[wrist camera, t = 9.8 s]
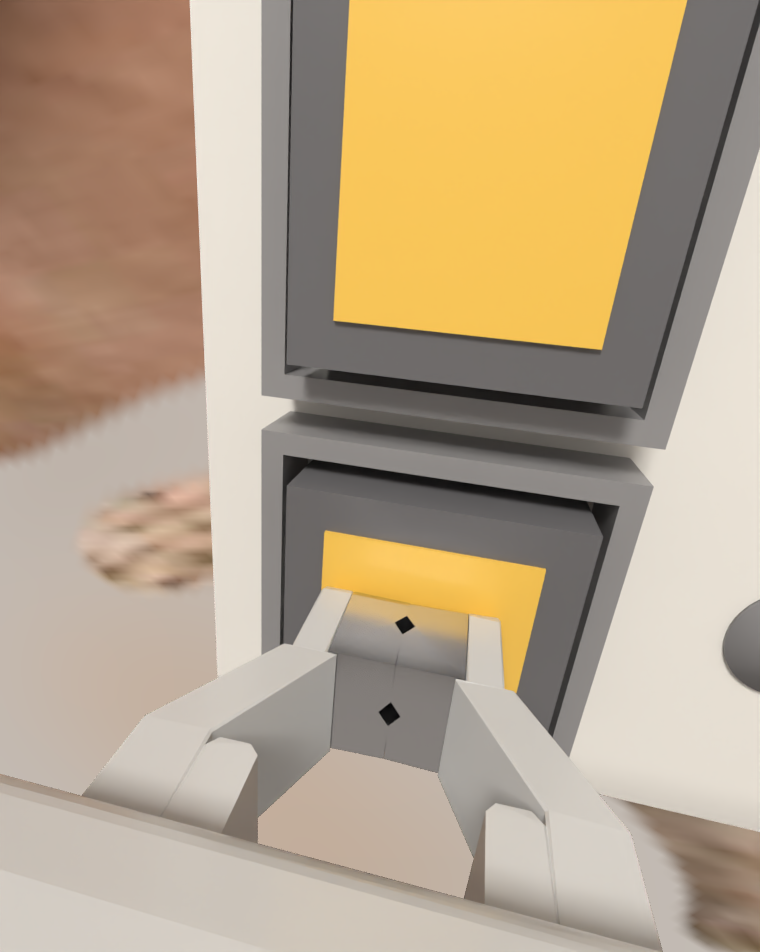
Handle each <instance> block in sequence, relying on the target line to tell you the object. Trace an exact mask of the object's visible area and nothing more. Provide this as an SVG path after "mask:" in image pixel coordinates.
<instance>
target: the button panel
mask: <svg viewBox="0 0 760 952" xmlns="http://www.w3.org/2000/svg"><path fill="white" fill-rule="evenodd" d="M190 19H191V43H192V68H193V92H194V116H195V140H196V165H197V189H198V213H199V238H200V262H201V286H202V310H203V335H204V359H205V383H206V407H207V432H208V456H209V480H210V505H211V529H212V553H213V577H214V601H215V624H216V649H217V673H218V677H220V676H222V675H224V674H226V673H228V672H230V671H232V670H234V669H236V668H237V667H239V666H241V665H243V664H245V663H247V662H249V661H251V660H253V659H255V658H257V657H259V656H261V655H263V654H265V653H266V652H268V651H270V650H272V649H274V648H276V647H278V646H280V645H282V644H284V594H285V545H286V495H287V485H288V484H289V483H290V482H291V481H292V480H293V479H294V478H295V477H296V476H297V475H298V474H299V473H300V472H301V471H302V470H303V469H304V468H305V467H306V466H307V465H308V464H309V463H310V462H311V461H312V460H313V459H314V460H321V461H327V462H334V463H340V464H347V465H354V466H360V467H367V468H373V469H380V470H386V471H393V472H399V473H406V474H413V475H419V476H426V477H432V478H439V479H445V480H452V481H459V482H465V483H472V484H478V485H485V486H491V487H498V488H504V489H511V490H518V491H524V492H531V493H537V494H544V495H550V496H557V497H563V498H570V499H577V500H583V501H587V503H588V505H589V507H590V510H591V512H592V514H593V516H594V518H595V520H596V522H597V525H598V527H599V529H600V531H601V533H602V535H603V539H602V543H601V546H600V550H599V554H598V557H597V561H596V564H595V568H594V571H593V575H592V578H591V582H590V585H589V589H588V592H587V596H586V599H585V603H584V606H583V610H582V613H581V617H580V620H579V624H578V628H577V631H576V635H575V638H574V642H573V645H572V649H571V652H570V656H569V659H568V663H567V666H566V670H565V673H564V677H563V680H562V684H561V687H560V691H559V694H558V698H557V702H556V705H555V709H554V712H553V716H552V719H551V723H550V726H549V730H548V733H549V734H550V735H551V737H552V738H553V739H554V740H555V741H556V743H557V744H558V745H559V746H560V748H561V749H562V750H563V751H564V752H565V754H566V755H567V756H568V757H569V758H570V760H571V761H572V762H573V763H574V765H575V766H576V767H577V768H578V769H579V771H580V772H581V773H582V774H583V775H584V777H585V778H586V779H587V780H588V782H589V783H590V784H591V785H592V786H593V788H594V789H595V790H596V791H597V792H598V794H600V795H604V796H608V797H613V798H617V799H621V800H625V801H630V802H634V803H638V804H643V805H647V806H651V807H655V808H660V809H664V810H668V811H672V812H677V813H681V814H685V815H689V816H694V817H698V818H702V819H706V820H711V821H715V822H719V823H723V824H728V825H732V826H736V827H740V828H745V829H749V830H753V831H757V832H760V0H759V2H758V5H757V9H756V12H755V16H754V19H753V23H752V26H751V30H750V33H749V37H748V40H747V44H746V47H745V51H744V54H743V58H742V61H741V65H740V68H739V72H738V75H737V79H736V82H735V86H734V89H733V93H732V96H731V100H730V103H729V107H728V110H727V114H726V117H725V121H724V124H723V128H722V131H721V135H720V138H719V142H718V145H717V149H716V152H715V156H714V159H713V163H712V166H711V170H710V173H709V177H708V180H707V184H706V187H705V191H704V194H703V198H702V201H701V205H700V208H699V212H698V215H697V219H696V222H695V226H694V229H693V233H692V236H691V240H690V243H689V247H688V250H687V254H686V257H685V261H684V264H683V268H682V271H681V275H680V278H679V282H678V285H677V289H676V292H675V296H674V299H673V303H672V306H671V310H670V313H669V317H668V320H667V324H666V327H665V331H664V334H663V338H662V341H661V345H660V348H659V352H658V355H657V359H656V362H655V366H654V369H653V373H652V376H651V380H650V383H649V387H648V390H647V394H646V397H645V401H644V404H643V408H634V407H626V406H618V405H610V404H601V403H593V402H585V401H577V400H569V399H561V398H553V397H545V396H537V395H529V394H521V393H513V392H505V391H497V390H489V389H481V388H473V387H465V386H457V385H449V384H440V383H432V382H424V381H416V380H408V379H400V378H392V377H384V376H376V375H368V374H360V373H352V372H344V371H336V370H328V369H320V368H312V367H304V366H296V365H288V364H287V317H288V262H289V208H290V153H291V98H292V44H293V0H190Z"/></svg>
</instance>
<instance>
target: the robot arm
mask: <svg viewBox="0 0 760 952" xmlns="http://www.w3.org/2000/svg"><path fill="white" fill-rule="evenodd" d="M330 748H334V749H339V750H344V751H349V752H354V753H359V754H363V755H368V756H374V757H378V758H384V759H387V760H391V761H395V762H398V763H402V764H406V765H409V766H413V767H417V768H421V769H425V770H428V771H432V772H436V773H438V778H439V780H440V782H441V785H442V787H443V789H444V791H445V794H446V796H447V798H448V801H449V803H450V805H451V808H452V809H453V812H454V814H455V816H456V819H457V821H458V823H459V826H460V828H461V830H462V833H463V835H464V837H465V840H466V842H467V844H468V846H469V849H470V851H471V853H472V856H473V858H474V860H473V864H472V868H471V872H470V876H469V880H468V884H467V888H466V892H465V896H464V899H463V898H459V897H455V896H452V895H448V894H444V893H440V892H437V891H433V890H429V889H425V888H422V887H418V886H414V885H410V884H407V883H403V882H399V881H396V880H392V879H388V878H385V877H380V876H377V875H373V874H370V873H366V872H362V871H359V870H355V869H351V868H347V867H344V866H340V865H336V864H332V863H329V862H325V861H321V860H318V859H314V858H310V857H306V856H302V855H299V854H295V853H291V852H288V851H284V850H280V849H277V848H273V847H269V846H265V845H262V844H258V843H257V838H258V836H257V835H258V833H257V832H258V830H257V828H258V826H257V824H258V823H257V822H258V821H257V820H258V817H259V816H260V815H261V814H262V813H263V812H265V811H266V810H267V809H268V808H269V807H270V806H271V805H272V804H273V803H274V802H275V801H276V800H277V799H279V798H280V797H281V796H282V795H283V794H284V793H285V792H286V791H287V790H288V789H289V788H290V787H292V786H293V785H294V784H295V783H296V782H297V781H298V780H299V779H300V778H301V777H302V776H303V775H304V774H306V773H307V772H308V771H309V770H310V769H311V768H312V767H313V766H314V765H315V764H316V763H317V762H318V761H320V760H321V759H322V757H324V756H325V755H326V754H327V753H328V752H329V751H330ZM384 754H385V755H384ZM0 952H663V951H662V947H661V943H660V940H659V936H658V932H657V928H656V925H655V921H654V917H653V913H652V910H651V906H650V902H649V899H648V895H647V891H646V887H645V884H644V880H643V876H642V873H641V869H640V865H639V861H638V858H637V854H636V850H635V847H634V843H633V839H632V835H631V833H630V831H629V830H628V829H627V828H626V827H625V825H624V824H623V823H622V822H621V820H620V819H619V818H618V817H617V816H616V814H615V813H614V812H613V811H612V810H611V808H610V807H609V806H608V805H607V803H606V802H605V801H604V800H603V799H602V797H601V796H600V795H599V794H598V792H597V791H596V790H595V789H594V788H593V786H592V785H591V784H590V783H589V782H588V780H587V779H586V778H585V777H584V775H583V774H582V773H581V772H580V771H579V769H578V768H577V767H576V766H575V765H574V763H573V762H572V761H571V760H570V758H569V757H568V756H567V755H566V754H565V752H564V751H563V750H562V749H561V748H560V746H559V745H558V744H557V743H556V741H555V740H554V739H553V738H552V737H551V735H550V734H549V733H548V732H547V731H546V729H545V728H544V727H543V726H542V724H541V723H540V722H539V721H538V720H537V718H536V717H535V716H534V715H533V714H532V712H531V711H530V710H529V709H528V707H527V706H526V705H525V704H524V703H523V701H522V700H521V699H520V698H519V697H518V695H517V694H516V693H515V692H514V691H511V690H506V689H505V688H504V670H503V653H502V635H501V621H500V620H499V618H495V617H489V616H482V615H476V614H465V613H459V612H454V611H448V610H442V609H437V608H431V607H425V606H420V605H414V604H410V603H407V602H402V601H398V600H393V599H388V598H383V597H379V596H374V595H369V594H364V593H360V592H353V591H350V590H345V589H339V588H334V587H329V586H326V587H325V588H324V589H322V590H321V592H320V594H319V596H318V598H317V600H316V602H315V604H314V605H313V607H312V609H311V611H310V613H309V615H308V617H307V619H306V621H305V622H304V624H303V626H302V628H301V630H300V632H299V634H298V636H297V638H296V639H295V641H294V643H293V645H290V644H285V643H284V644H282V645H280V646H278V647H276V648H274V649H272V650H270V651H268V652H266V653H265V654H263V655H261V656H259V657H257V658H255V659H253V660H251V661H249V662H247V663H245V664H243V665H241V666H239V667H237V668H236V669H234V670H232V671H230V672H228V673H226V674H224V675H222V676H220V677H218V678H216V679H214V680H212V681H210V682H209V683H207V684H205V685H203V686H201V687H199V688H197V689H195V690H193V691H191V692H189V693H187V694H185V695H184V696H182V697H180V698H178V699H176V700H174V701H172V702H170V703H168V704H166V705H164V706H162V707H160V708H158V709H156V710H154V711H153V712H150V713H149V714H147V715H145V716H144V717H143V718H142V720H141V721H140V722H139V723H138V725H137V726H136V727H135V729H134V730H133V731H132V732H131V734H130V735H129V736H128V737H127V739H126V740H125V741H124V743H123V744H122V745H121V747H120V748H119V749H118V750H117V751H116V753H115V754H114V755H113V757H112V758H111V759H110V760H109V762H108V763H107V764H106V765H105V767H104V768H103V769H102V771H101V772H100V773H99V774H98V776H97V777H96V778H95V779H94V781H93V782H92V783H91V784H90V786H89V787H88V788H87V789H86V791H85V792H84V793H83V795H82V796H80V795H77V794H73V793H69V792H65V791H62V790H58V789H54V788H50V787H47V786H43V785H39V784H36V783H32V782H28V781H25V780H21V779H17V778H13V777H10V776H6V775H2V774H0Z"/></svg>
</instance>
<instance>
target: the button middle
mask: <svg viewBox="0 0 760 952" xmlns="http://www.w3.org/2000/svg"><path fill="white" fill-rule="evenodd" d="M758 2H759V0H293V44H292V98H291V153H290V208H289V262H288V317H287V364H288V365H296V366H304V367H312V368H320V369H328V370H336V371H344V372H352V373H360V374H368V375H376V376H384V377H392V378H400V379H408V380H416V381H424V382H432V383H440V384H449V385H457V386H465V387H473V388H481V389H489V390H497V391H505V392H513V393H521V394H529V395H537V396H545V397H553V398H561V399H569V400H577V401H585V402H593V403H601V404H610V405H618V406H626V407H634V408H643V404H644V401H645V397H646V394H647V390H648V387H649V383H650V380H651V376H652V373H653V369H654V366H655V362H656V359H657V355H658V352H659V348H660V345H661V341H662V338H663V334H664V331H665V327H666V324H667V320H668V317H669V313H670V310H671V306H672V303H673V299H674V296H675V292H676V289H677V285H678V282H679V278H680V275H681V271H682V268H683V264H684V261H685V257H686V254H687V250H688V247H689V243H690V240H691V236H692V233H693V229H694V226H695V222H696V219H697V215H698V212H699V208H700V205H701V201H702V198H703V194H704V191H705V187H706V184H707V180H708V177H709V173H710V170H711V166H712V163H713V159H714V156H715V152H716V149H717V145H718V142H719V138H720V135H721V131H722V128H723V124H724V121H725V117H726V114H727V110H728V107H729V103H730V100H731V96H732V93H733V89H734V86H735V82H736V79H737V75H738V72H739V68H740V65H741V61H742V58H743V54H744V51H745V47H746V44H747V40H748V37H749V33H750V30H751V26H752V23H753V19H754V16H755V12H756V9H757V5H758Z"/></svg>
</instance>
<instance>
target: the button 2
mask: <svg viewBox="0 0 760 952" xmlns="http://www.w3.org/2000/svg"><path fill="white" fill-rule="evenodd" d="M602 539H603V535H602V533H601V531H600V529H599V527H598V525H597V522H596V520H595V518H594V516H593V514H592V512H591V510H590V507H589V505H588V503H587V501H583V500H577V499H570V498H563V497H557V496H550V495H544V494H537V493H531V492H524V491H518V490H511V489H504V488H498V487H491V486H485V485H478V484H472V483H465V482H459V481H452V480H445V479H439V478H432V477H426V476H419V475H413V474H406V473H399V472H393V471H386V470H380V469H373V468H367V467H360V466H354V465H347V464H340V463H334V462H327V461H321V460H314V459H313V460H312V461H311V462H310V463H309V464H308V465H307V466H306V467H305V468H304V469H303V470H302V471H301V472H300V473H299V474H298V475H297V476H296V477H295V478H294V479H293V480H292V481H291V482H290V483H289V484H288V485H287V495H286V545H285V594H284V643H285V644H290V645H293V643H294V641H295V639H296V638H297V636H298V634H299V632H300V630H301V628H302V626H303V624H304V622H305V621H306V619H307V617H308V615H309V613H310V611H311V609H312V607H313V605H314V604H315V602H316V600H317V598H318V596H319V594H320V592H321V590H322V589H324V588H325V587H326V586H329V587H334V588H339V589H345V590H350V591H353V592H360V593H364V594H369V595H374V596H379V597H383V598H388V599H393V600H398V601H402V602H407V603H410V604H414V605H420V606H425V607H431V608H437V609H442V610H448V611H454V612H459V613H465V614H476V615H482V616H489V617H495V618H499V620H500V621H501V635H502V653H503V670H504V688H505V689H506V690H511V691H514V692H515V693H516V694H517V695H518V697H519V698H520V699H521V700H522V701H523V703H524V704H525V705H526V706H527V707H528V709H529V710H530V711H531V712H532V714H533V715H534V716H535V717H536V718H537V720H538V721H539V722H540V723H541V724H542V726H543V727H544V728H545V729H546V731H547V732H548V730H549V726H550V723H551V719H552V716H553V712H554V709H555V705H556V702H557V698H558V694H559V691H560V687H561V684H562V680H563V677H564V673H565V670H566V666H567V663H568V659H569V656H570V652H571V649H572V645H573V642H574V638H575V635H576V631H577V628H578V624H579V620H580V617H581V613H582V610H583V606H584V603H585V599H586V596H587V592H588V589H589V585H590V582H591V578H592V575H593V571H594V568H595V564H596V561H597V557H598V554H599V550H600V546H601V543H602Z"/></svg>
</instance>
